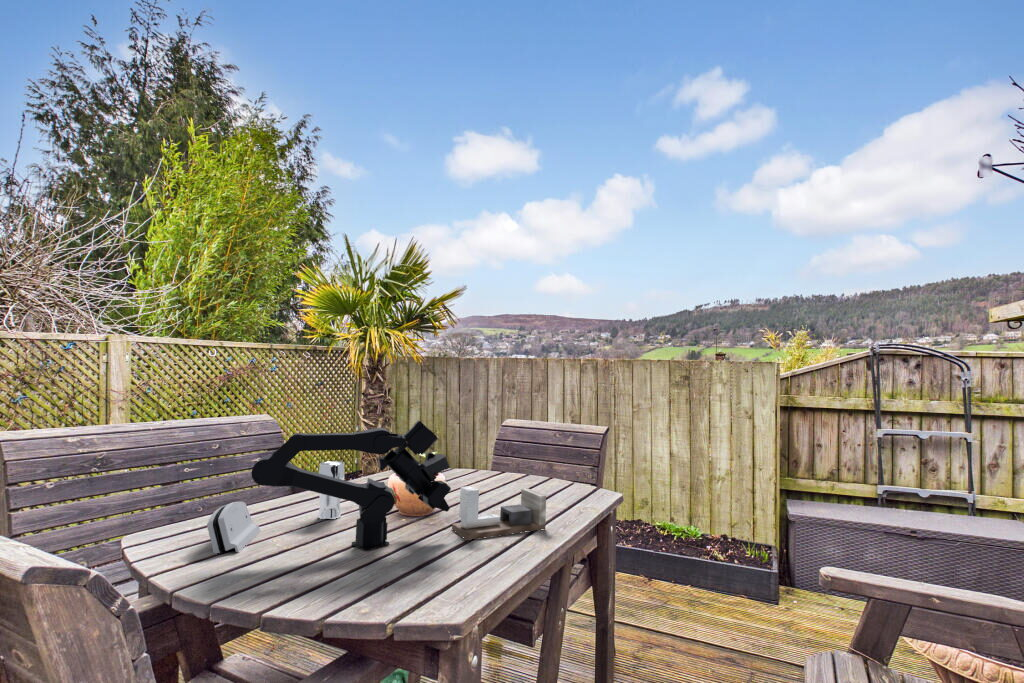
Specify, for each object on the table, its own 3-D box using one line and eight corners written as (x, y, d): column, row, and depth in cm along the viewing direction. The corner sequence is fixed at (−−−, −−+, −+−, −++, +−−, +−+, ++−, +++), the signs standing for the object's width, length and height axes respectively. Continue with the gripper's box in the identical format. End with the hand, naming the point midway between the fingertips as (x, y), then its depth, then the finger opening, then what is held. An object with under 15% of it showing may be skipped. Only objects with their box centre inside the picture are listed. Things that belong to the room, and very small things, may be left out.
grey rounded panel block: (238, 553, 112) (224, 510, 112) (216, 561, 111) (202, 518, 111) (261, 530, 129) (248, 493, 129) (241, 537, 128) (229, 499, 128)
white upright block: (337, 521, 139) (339, 465, 140) (311, 520, 139) (314, 464, 140) (345, 514, 146) (348, 461, 147) (321, 513, 146) (324, 460, 147)
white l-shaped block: (466, 529, 129) (468, 490, 129) (459, 524, 133) (460, 486, 134) (501, 525, 133) (502, 487, 134) (493, 520, 138) (494, 484, 138)
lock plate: (466, 540, 126) (468, 503, 126) (451, 529, 135) (453, 494, 135) (545, 529, 137) (546, 495, 137) (526, 520, 146) (527, 488, 146)
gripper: (444, 449, 119) (484, 493, 124) (418, 439, 136) (455, 478, 140) (410, 485, 115) (453, 529, 120) (388, 471, 131) (427, 510, 136)
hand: (448, 509), depth 129 cm, fingers closed
